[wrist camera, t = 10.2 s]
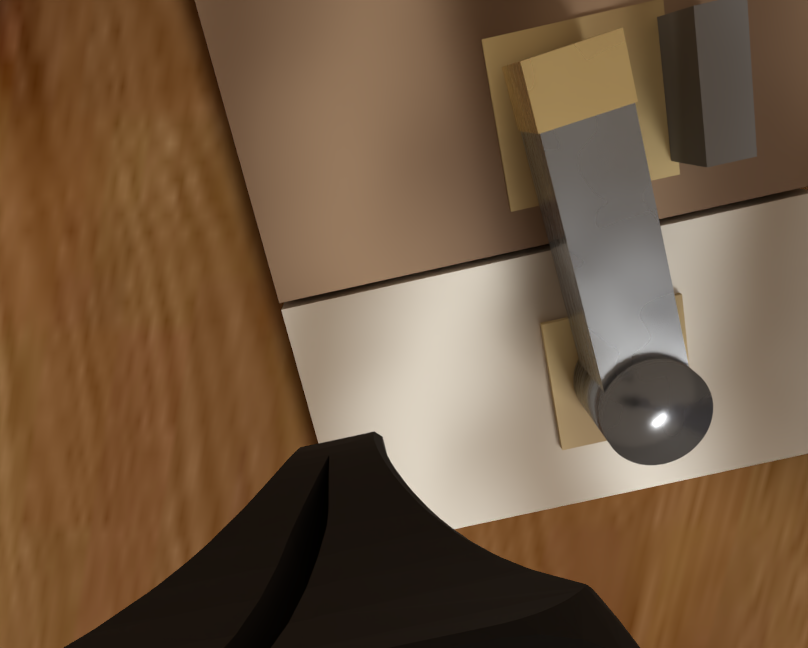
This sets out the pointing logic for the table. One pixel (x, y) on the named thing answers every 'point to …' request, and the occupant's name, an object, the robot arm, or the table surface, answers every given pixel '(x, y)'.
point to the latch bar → (609, 247)
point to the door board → (516, 229)
